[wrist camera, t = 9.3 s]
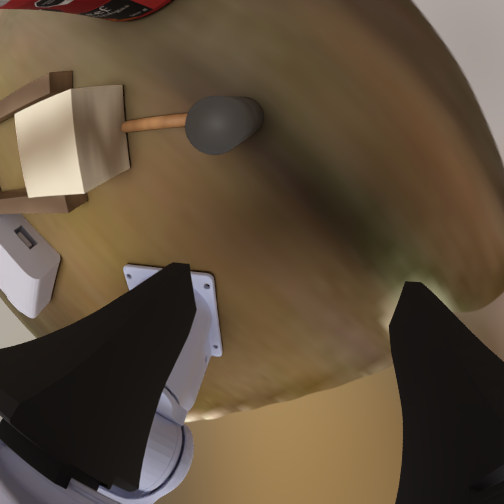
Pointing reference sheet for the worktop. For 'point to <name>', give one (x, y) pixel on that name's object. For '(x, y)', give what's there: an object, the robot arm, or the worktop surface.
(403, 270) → the worktop surface
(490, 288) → the worktop surface
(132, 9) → the canned food
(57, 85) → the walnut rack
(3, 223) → the charger
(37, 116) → the cream grey uneven dumbbell
